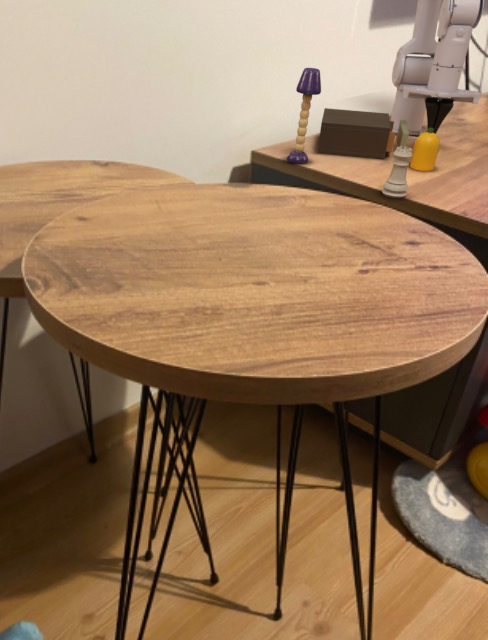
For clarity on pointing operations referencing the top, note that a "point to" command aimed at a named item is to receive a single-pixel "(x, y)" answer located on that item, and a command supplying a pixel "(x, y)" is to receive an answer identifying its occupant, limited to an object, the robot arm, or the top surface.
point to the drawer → (401, 135)
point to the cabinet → (354, 133)
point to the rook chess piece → (398, 174)
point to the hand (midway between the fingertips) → (430, 138)
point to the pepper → (425, 151)
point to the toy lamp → (305, 111)
